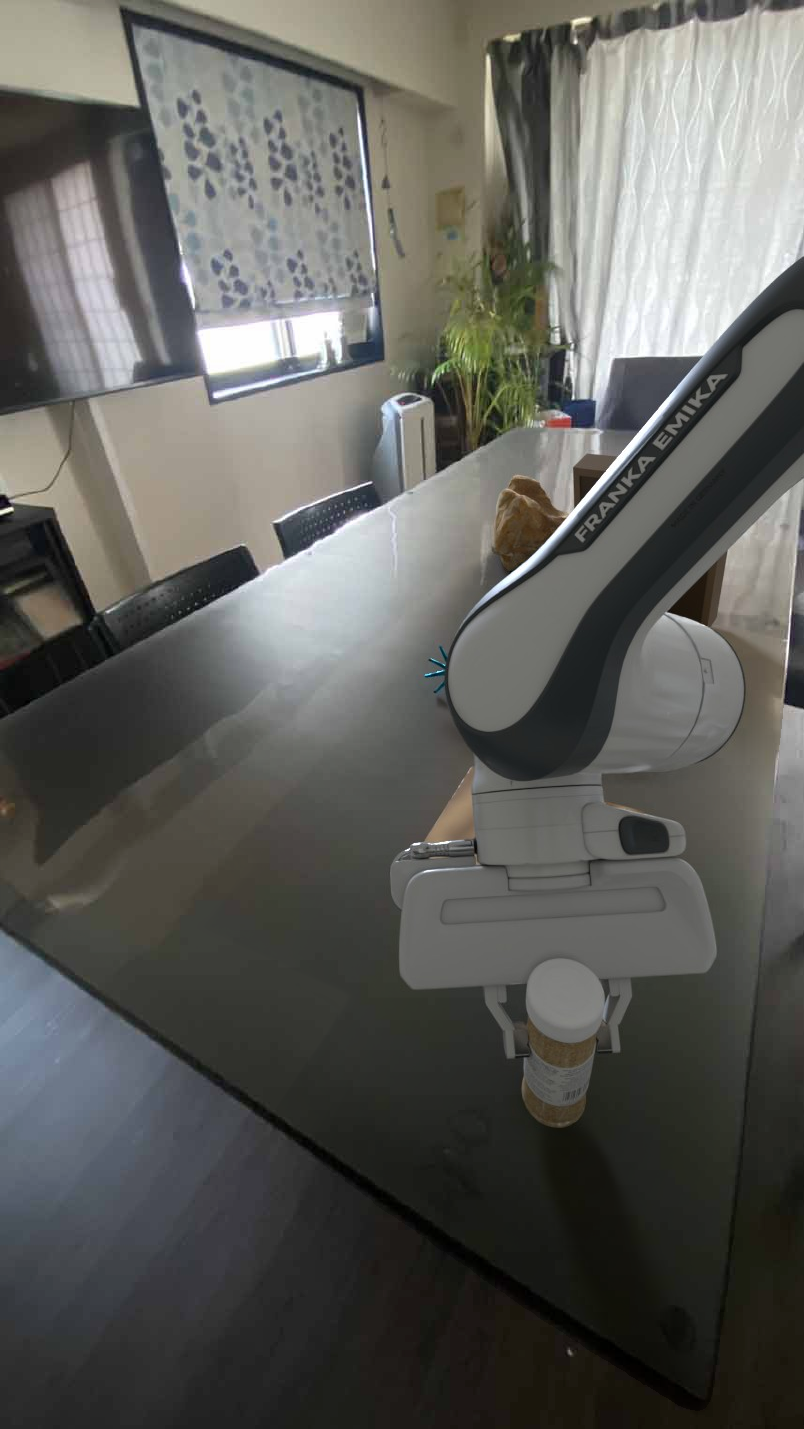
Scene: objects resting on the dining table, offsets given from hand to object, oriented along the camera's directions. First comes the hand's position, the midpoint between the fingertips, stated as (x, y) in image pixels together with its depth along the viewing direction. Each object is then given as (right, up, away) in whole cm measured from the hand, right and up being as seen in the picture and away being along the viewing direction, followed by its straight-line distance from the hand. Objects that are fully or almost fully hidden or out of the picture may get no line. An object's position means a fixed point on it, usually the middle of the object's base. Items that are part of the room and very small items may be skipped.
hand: (562, 1053), depth 41 cm
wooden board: (+3, +9, +26) cm, 27 cm away
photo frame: (+27, +36, +62) cm, 77 cm away
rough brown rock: (+16, +53, +87) cm, 103 cm away
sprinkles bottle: (+1, -6, +5) cm, 7 cm away
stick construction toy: (-1, +25, +50) cm, 56 cm away
